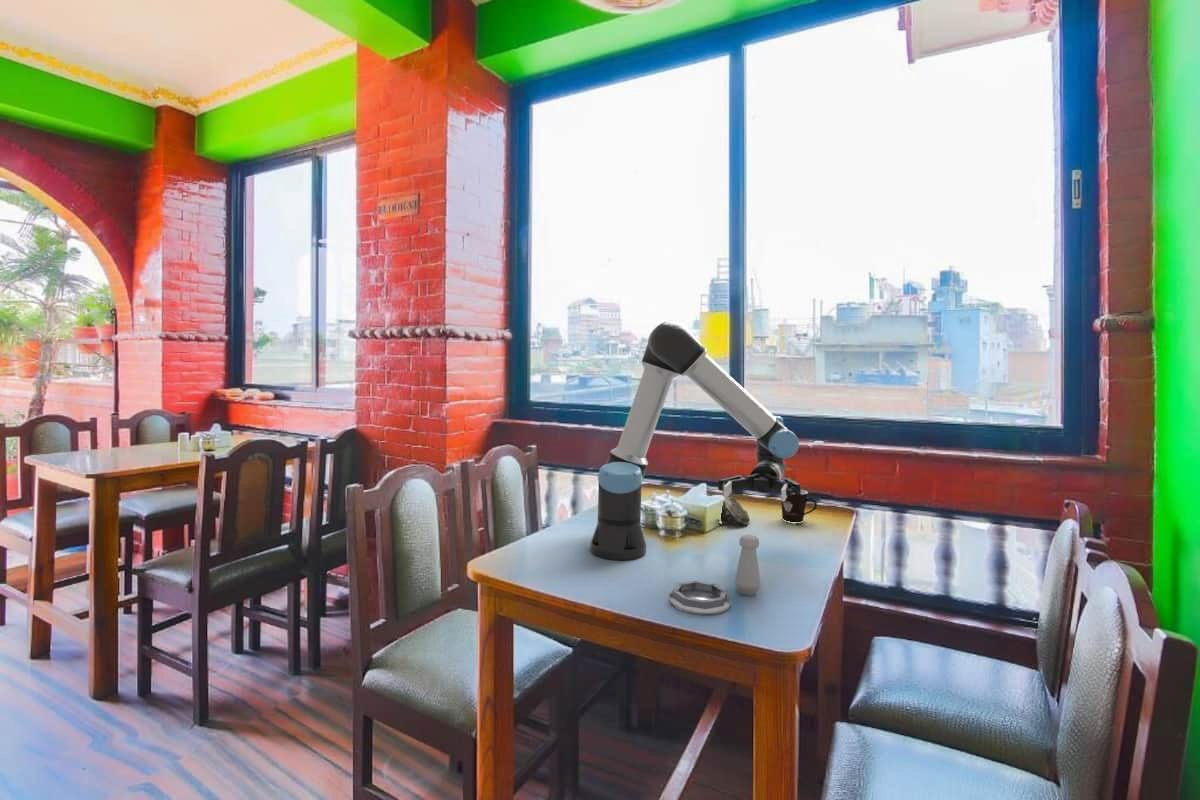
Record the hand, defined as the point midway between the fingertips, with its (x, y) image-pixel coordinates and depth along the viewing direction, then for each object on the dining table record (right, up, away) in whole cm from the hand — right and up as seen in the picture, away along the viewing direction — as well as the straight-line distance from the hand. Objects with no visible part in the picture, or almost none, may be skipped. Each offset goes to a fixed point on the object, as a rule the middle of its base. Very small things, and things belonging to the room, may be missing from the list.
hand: (753, 494), depth 143 cm
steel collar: (-15, -21, -14) cm, 30 cm away
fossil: (+6, -18, +50) cm, 53 cm away
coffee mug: (+27, -18, +53) cm, 62 cm away
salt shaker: (-3, -21, -7) cm, 23 cm away
